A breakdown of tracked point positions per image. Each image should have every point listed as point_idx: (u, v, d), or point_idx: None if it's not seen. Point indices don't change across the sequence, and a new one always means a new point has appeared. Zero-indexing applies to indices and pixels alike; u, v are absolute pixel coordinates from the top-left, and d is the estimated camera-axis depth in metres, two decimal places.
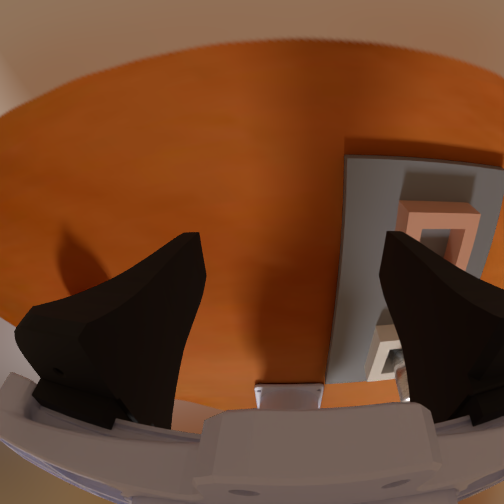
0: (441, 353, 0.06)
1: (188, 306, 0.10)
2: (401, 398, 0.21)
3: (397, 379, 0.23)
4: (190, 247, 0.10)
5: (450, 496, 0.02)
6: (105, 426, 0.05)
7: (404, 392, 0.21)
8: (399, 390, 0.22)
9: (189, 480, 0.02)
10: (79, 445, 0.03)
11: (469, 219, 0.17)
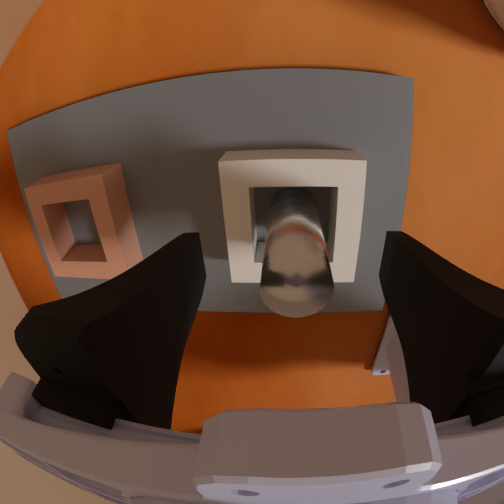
0: (441, 353, 0.06)
1: (188, 306, 0.10)
2: None
3: None
4: (190, 247, 0.10)
5: (450, 496, 0.02)
6: (105, 426, 0.05)
7: None
8: None
9: (189, 480, 0.02)
10: (79, 445, 0.03)
11: (32, 203, 0.14)
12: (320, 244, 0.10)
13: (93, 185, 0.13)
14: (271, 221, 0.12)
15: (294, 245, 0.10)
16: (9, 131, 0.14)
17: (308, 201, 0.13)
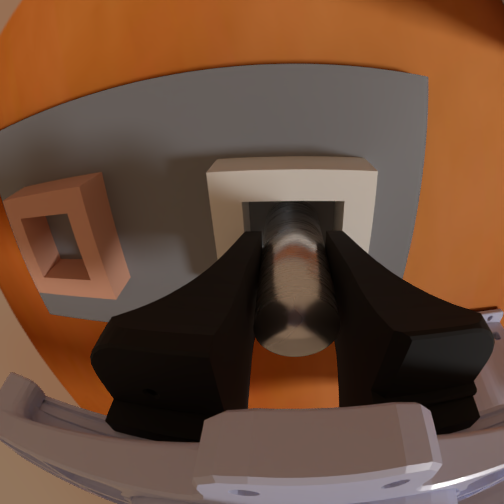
0: (356, 362, 0.06)
1: None
2: None
3: None
4: (258, 247, 0.10)
5: (450, 496, 0.02)
6: None
7: None
8: None
9: (189, 480, 0.02)
10: (79, 445, 0.03)
11: (12, 217, 0.12)
12: (325, 273, 0.09)
13: (71, 198, 0.12)
14: (267, 242, 0.11)
15: (294, 277, 0.08)
16: None
17: (310, 216, 0.12)
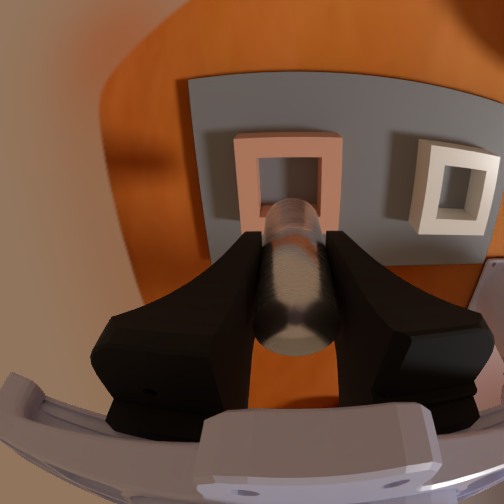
0: (356, 362, 0.06)
1: None
2: None
3: None
4: (258, 247, 0.10)
5: (450, 496, 0.02)
6: None
7: None
8: None
9: (189, 480, 0.02)
10: (79, 445, 0.03)
11: (242, 155, 0.17)
12: (325, 272, 0.09)
13: (331, 146, 0.16)
14: (267, 240, 0.11)
15: (294, 276, 0.08)
16: (192, 81, 0.16)
17: (310, 215, 0.12)
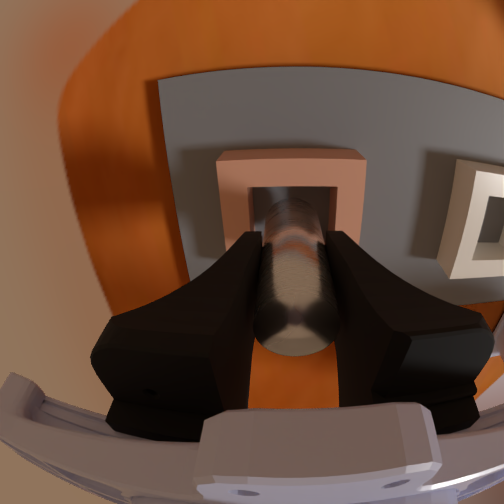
0: (356, 362, 0.06)
1: None
2: None
3: None
4: (258, 247, 0.10)
5: (450, 496, 0.02)
6: None
7: None
8: None
9: (189, 480, 0.02)
10: (79, 445, 0.03)
11: (228, 184, 0.12)
12: (325, 272, 0.09)
13: (351, 171, 0.12)
14: (267, 240, 0.11)
15: (294, 275, 0.08)
16: (163, 81, 0.12)
17: (310, 215, 0.12)
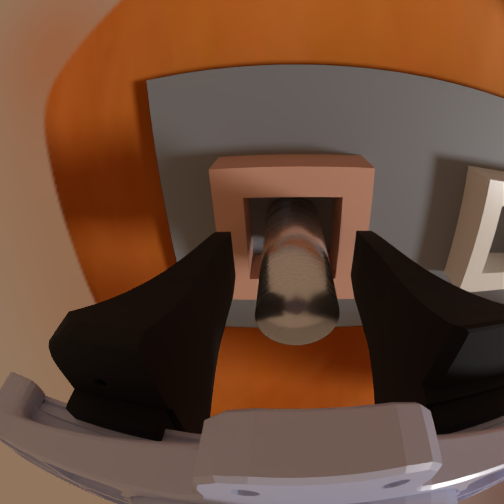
0: (400, 358, 0.06)
1: (222, 307, 0.10)
2: None
3: None
4: (225, 247, 0.10)
5: (450, 496, 0.02)
6: (155, 438, 0.05)
7: None
8: None
9: (189, 480, 0.02)
10: (79, 445, 0.03)
11: (223, 194, 0.11)
12: (324, 263, 0.09)
13: (357, 180, 0.11)
14: (268, 234, 0.11)
15: (295, 266, 0.08)
16: (152, 82, 0.11)
17: (310, 210, 0.12)
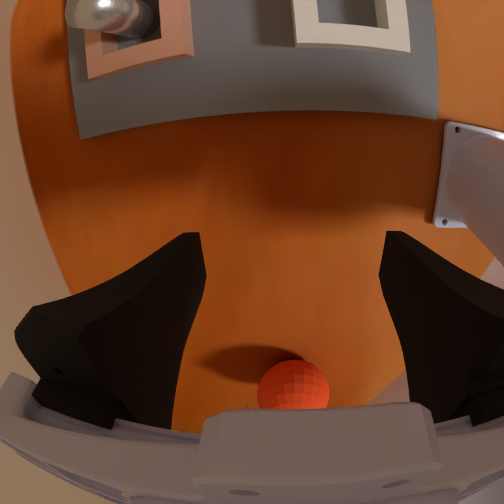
0: (441, 353, 0.06)
1: (188, 306, 0.10)
2: (87, 26, 0.09)
3: (107, 31, 0.10)
4: (190, 247, 0.10)
5: (450, 496, 0.02)
6: (105, 426, 0.05)
7: (81, 28, 0.09)
8: (98, 28, 0.09)
9: (189, 480, 0.02)
10: (79, 445, 0.03)
11: None
12: None
13: None
14: None
15: None
16: None
17: None
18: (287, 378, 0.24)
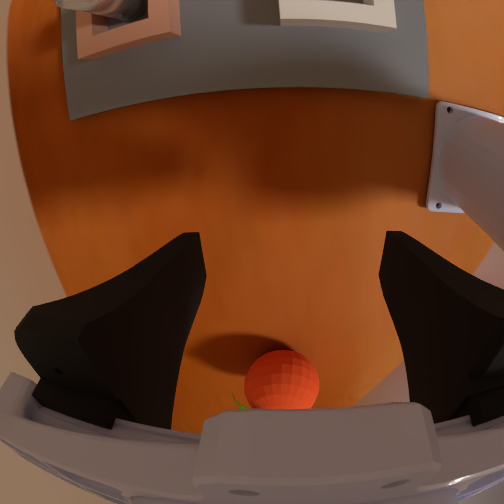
0: (441, 353, 0.06)
1: (188, 306, 0.10)
2: (74, 6, 0.08)
3: (94, 11, 0.10)
4: (190, 247, 0.10)
5: (450, 496, 0.02)
6: (105, 426, 0.05)
7: (68, 8, 0.08)
8: (84, 8, 0.09)
9: (189, 480, 0.02)
10: (79, 445, 0.03)
11: None
12: None
13: None
14: None
15: None
16: None
17: None
18: (274, 368, 0.24)
